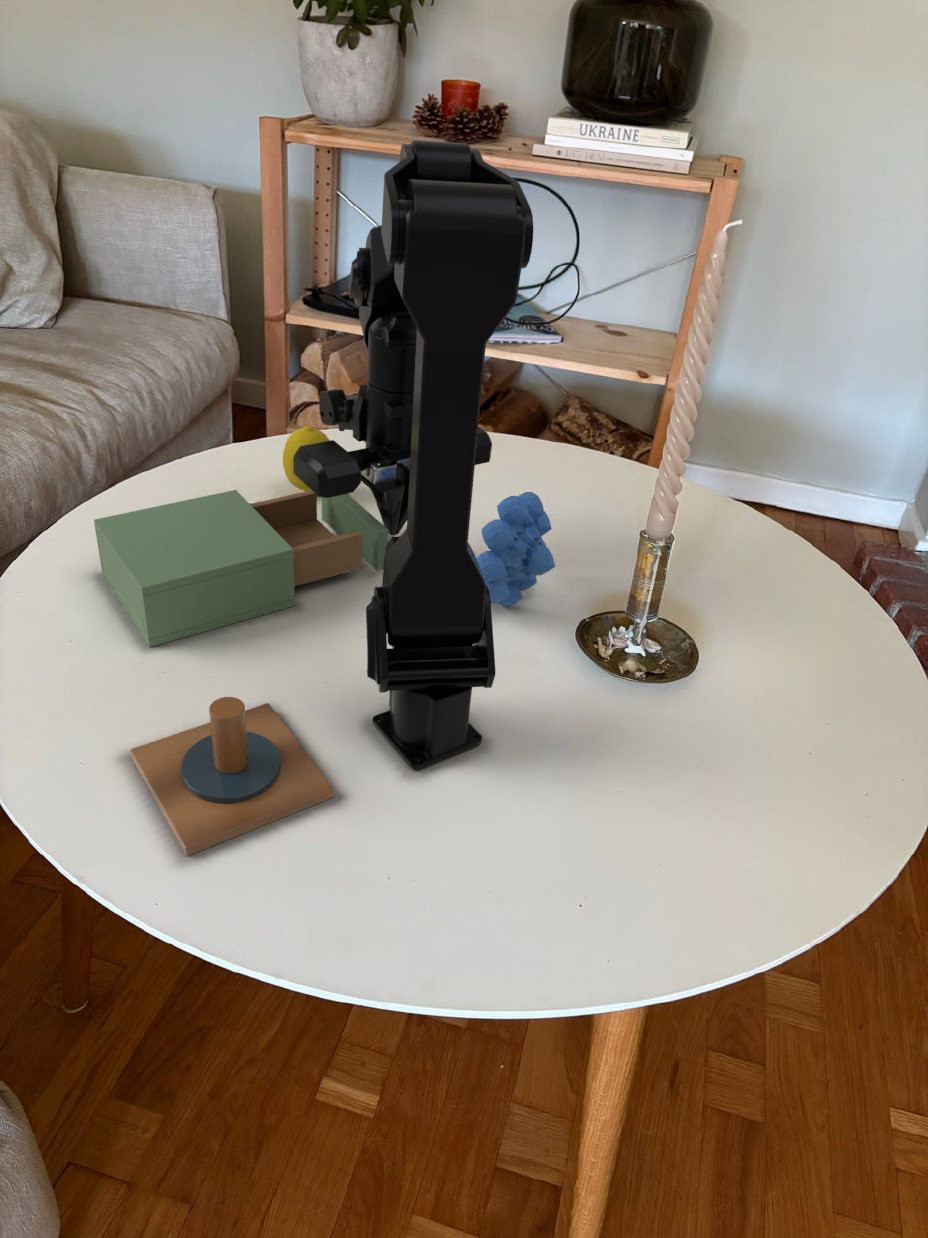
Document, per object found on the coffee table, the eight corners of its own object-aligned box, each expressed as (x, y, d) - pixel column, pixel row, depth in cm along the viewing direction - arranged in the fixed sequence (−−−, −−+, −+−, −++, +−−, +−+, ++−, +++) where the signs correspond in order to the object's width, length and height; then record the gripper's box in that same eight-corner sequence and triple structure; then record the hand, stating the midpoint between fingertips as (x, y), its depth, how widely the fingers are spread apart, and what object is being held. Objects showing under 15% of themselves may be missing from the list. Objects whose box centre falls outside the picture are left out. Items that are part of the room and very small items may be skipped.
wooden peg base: (334, 797, 69) (334, 789, 69) (186, 857, 63) (185, 848, 63) (268, 710, 76) (268, 702, 76) (131, 757, 71) (129, 749, 70)
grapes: (515, 649, 86) (532, 533, 79) (452, 622, 88) (463, 507, 81) (573, 593, 94) (593, 483, 87) (514, 570, 97) (528, 461, 90)
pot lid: (297, 781, 69) (295, 720, 66) (204, 817, 65) (197, 755, 62) (256, 724, 73) (252, 665, 70) (166, 756, 70) (159, 694, 67)
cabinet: (239, 543, 96) (235, 489, 93) (295, 606, 88) (293, 549, 85) (102, 576, 90) (93, 519, 86) (149, 647, 81) (141, 587, 78)
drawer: (342, 514, 101) (342, 477, 99) (397, 565, 94) (399, 527, 91) (219, 543, 94) (216, 505, 92) (268, 601, 87) (267, 561, 85)
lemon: (279, 484, 108) (277, 417, 103) (327, 479, 109) (327, 413, 105) (289, 507, 103) (288, 438, 99) (339, 502, 105) (340, 434, 101)
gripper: (437, 341, 96) (428, 481, 105) (264, 365, 87) (270, 517, 95) (502, 379, 89) (486, 526, 97) (321, 410, 79) (322, 570, 88)
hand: (392, 533), depth 95 cm, fingers closed
